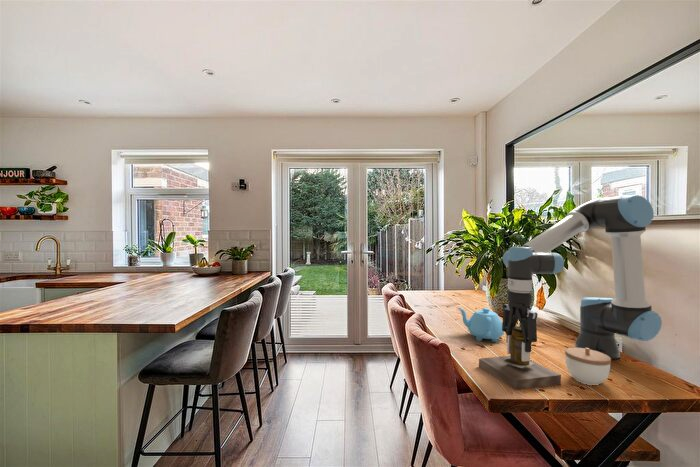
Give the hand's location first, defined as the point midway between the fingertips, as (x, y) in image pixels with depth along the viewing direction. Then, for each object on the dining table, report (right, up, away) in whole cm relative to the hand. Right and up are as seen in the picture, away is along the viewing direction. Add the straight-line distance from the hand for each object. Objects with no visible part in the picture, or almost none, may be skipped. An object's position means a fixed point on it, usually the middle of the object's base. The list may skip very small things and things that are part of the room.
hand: (518, 356), depth 114 cm
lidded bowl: (+21, -7, -4) cm, 23 cm away
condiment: (0, -2, 0) cm, 2 cm away
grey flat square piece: (0, -6, 0) cm, 6 cm away
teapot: (+5, -6, +40) cm, 40 cm away
